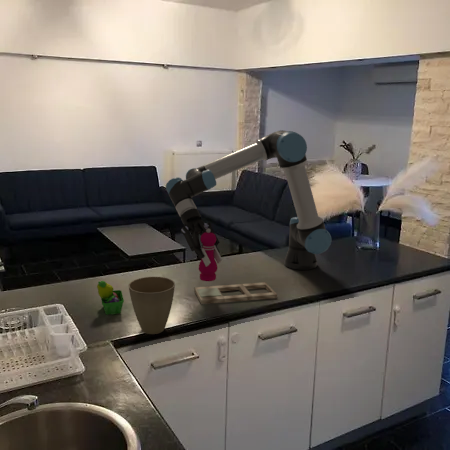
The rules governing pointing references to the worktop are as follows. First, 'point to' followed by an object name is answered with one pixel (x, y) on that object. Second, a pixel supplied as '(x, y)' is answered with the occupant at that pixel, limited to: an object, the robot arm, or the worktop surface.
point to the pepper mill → (208, 245)
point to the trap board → (215, 296)
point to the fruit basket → (110, 298)
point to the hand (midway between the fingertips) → (214, 263)
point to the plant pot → (152, 302)
